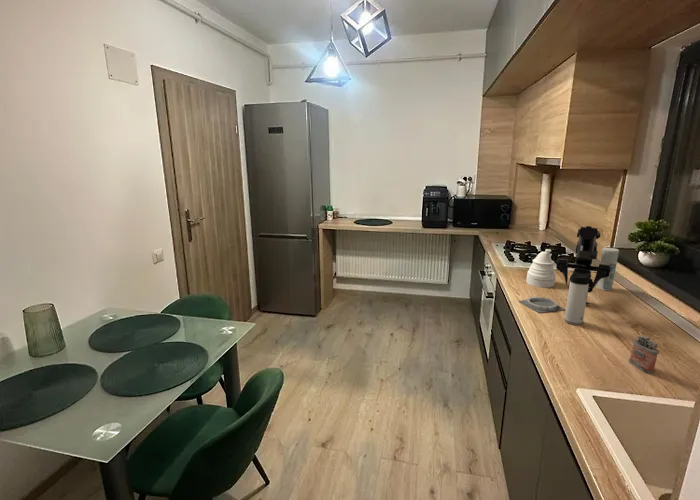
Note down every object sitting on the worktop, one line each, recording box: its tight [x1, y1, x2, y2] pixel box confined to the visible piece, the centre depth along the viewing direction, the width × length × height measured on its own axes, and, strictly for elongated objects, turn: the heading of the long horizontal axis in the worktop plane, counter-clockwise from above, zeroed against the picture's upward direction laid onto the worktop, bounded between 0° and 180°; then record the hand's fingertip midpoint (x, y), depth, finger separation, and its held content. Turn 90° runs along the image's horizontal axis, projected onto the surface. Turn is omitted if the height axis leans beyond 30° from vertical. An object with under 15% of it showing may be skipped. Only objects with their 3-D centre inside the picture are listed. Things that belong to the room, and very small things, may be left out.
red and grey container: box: [628, 334, 660, 375], centre depth 117 cm, size 8×3×10 cm, turn 5°
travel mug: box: [564, 273, 592, 326], centre depth 147 cm, size 6×7×20 cm
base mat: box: [518, 299, 566, 314], centre depth 166 cm, size 13×13×1 cm
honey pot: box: [526, 248, 556, 289], centre depth 191 cm, size 13×13×18 cm
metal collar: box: [525, 296, 559, 311], centre depth 165 cm, size 12×12×1 cm
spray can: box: [596, 247, 620, 291], centre depth 182 cm, size 6×6×20 cm
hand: (579, 285), depth 152 cm, fingers open, 9 cm apart
